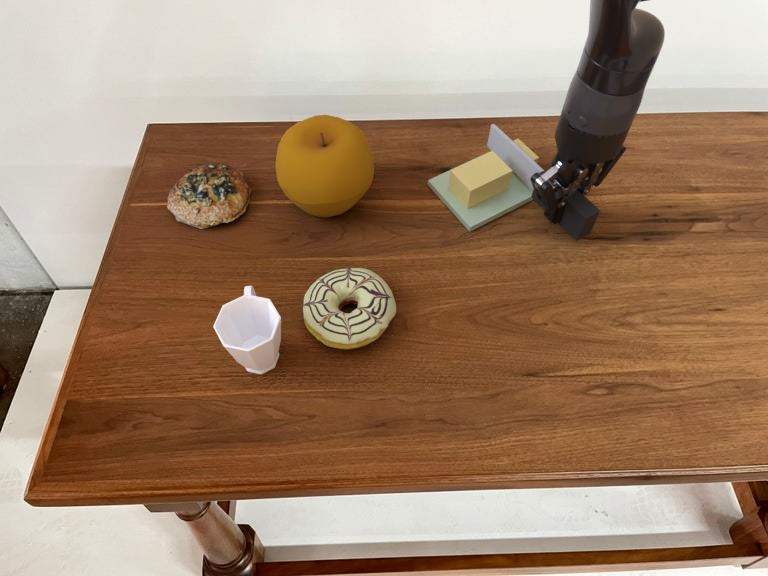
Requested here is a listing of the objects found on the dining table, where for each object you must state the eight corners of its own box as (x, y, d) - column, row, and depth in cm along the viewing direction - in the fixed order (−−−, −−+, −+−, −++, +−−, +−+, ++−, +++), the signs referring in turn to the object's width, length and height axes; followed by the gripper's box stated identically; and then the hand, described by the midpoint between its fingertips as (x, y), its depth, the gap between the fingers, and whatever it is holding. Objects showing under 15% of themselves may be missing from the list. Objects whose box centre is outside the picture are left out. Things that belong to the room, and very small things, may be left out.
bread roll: (226, 159, 87) (220, 136, 82) (268, 212, 83) (263, 190, 79) (156, 196, 83) (145, 173, 79) (197, 252, 80) (187, 232, 75)
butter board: (550, 191, 84) (552, 185, 83) (469, 232, 80) (470, 227, 79) (506, 148, 88) (507, 143, 88) (427, 185, 84) (427, 180, 84)
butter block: (508, 189, 83) (513, 170, 80) (467, 209, 80) (470, 191, 78) (488, 169, 85) (492, 150, 82) (448, 188, 83) (450, 169, 80)
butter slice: (533, 176, 84) (539, 157, 81) (523, 181, 83) (529, 162, 80) (513, 156, 86) (518, 138, 83) (503, 161, 86) (507, 142, 83)
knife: (494, 142, 87) (499, 118, 83) (590, 233, 78) (600, 210, 74) (481, 148, 86) (485, 124, 83) (576, 241, 77) (586, 218, 73)
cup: (230, 389, 67) (213, 356, 60) (228, 314, 72) (212, 275, 66) (293, 380, 68) (283, 346, 61) (286, 306, 73) (277, 267, 66)
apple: (344, 153, 88) (340, 88, 78) (393, 209, 82) (395, 145, 72) (266, 188, 84) (250, 124, 75) (311, 250, 78) (301, 188, 68)
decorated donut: (412, 312, 73) (413, 294, 69) (351, 372, 68) (350, 357, 65) (348, 266, 76) (347, 247, 73) (287, 320, 72) (283, 303, 69)
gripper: (621, 70, 69) (580, 177, 83) (526, 112, 65) (500, 218, 79) (670, 106, 65) (618, 212, 80) (574, 154, 61) (538, 256, 76)
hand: (560, 214), depth 79 cm, fingers closed on knife, 2 cm apart
